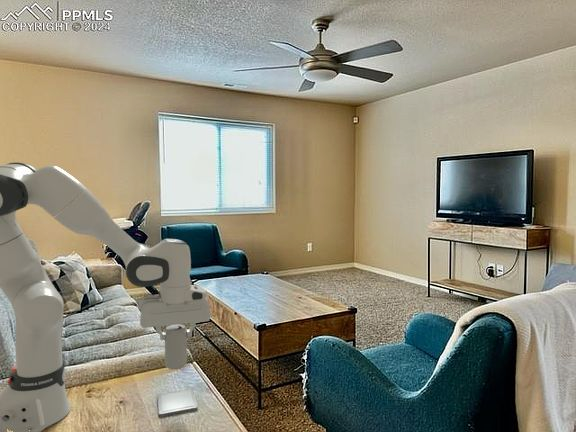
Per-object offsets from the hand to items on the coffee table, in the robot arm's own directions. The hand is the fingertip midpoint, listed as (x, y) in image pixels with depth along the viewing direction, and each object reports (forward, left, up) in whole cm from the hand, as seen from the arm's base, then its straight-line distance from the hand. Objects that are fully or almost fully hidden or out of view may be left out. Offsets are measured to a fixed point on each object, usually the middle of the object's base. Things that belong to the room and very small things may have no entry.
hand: (176, 337), depth 118 cm
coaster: (0, 0, -21) cm, 21 cm away
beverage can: (0, 0, -9) cm, 9 cm away
